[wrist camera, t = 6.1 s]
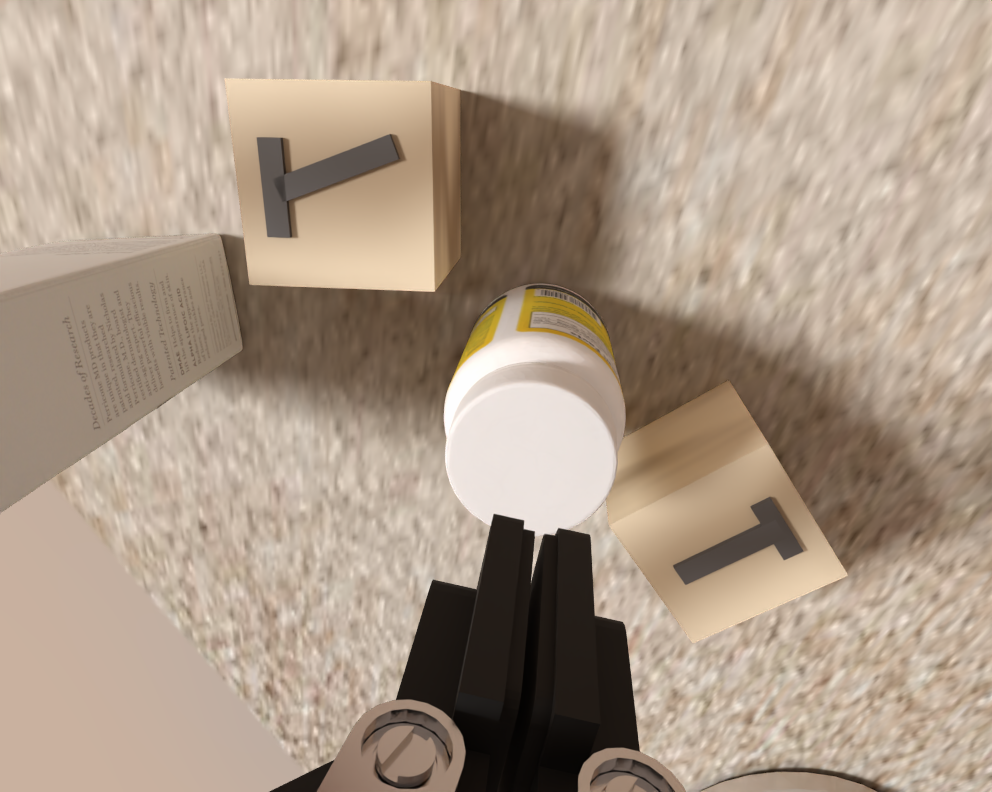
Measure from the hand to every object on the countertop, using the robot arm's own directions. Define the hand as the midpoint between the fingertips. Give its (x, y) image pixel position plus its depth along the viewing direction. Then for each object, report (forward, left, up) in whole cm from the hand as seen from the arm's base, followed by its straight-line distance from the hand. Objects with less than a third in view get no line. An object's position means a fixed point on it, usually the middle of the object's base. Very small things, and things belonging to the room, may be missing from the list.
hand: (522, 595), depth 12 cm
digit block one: (-6, -4, -13) cm, 15 cm away
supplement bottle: (0, 0, -13) cm, 13 cm away
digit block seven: (+7, +3, -13) cm, 15 cm away
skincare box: (+6, +12, -13) cm, 19 cm away
